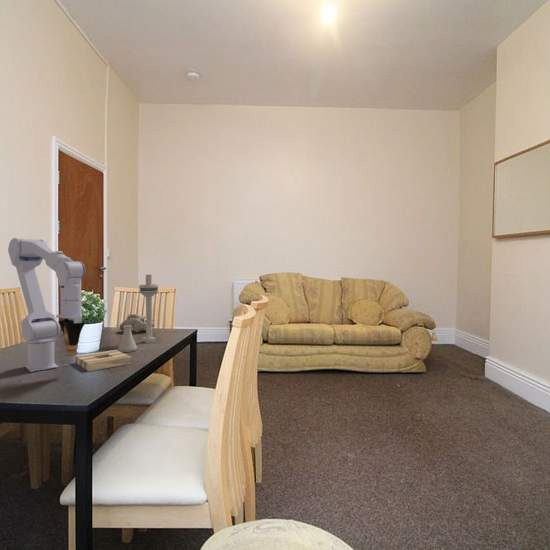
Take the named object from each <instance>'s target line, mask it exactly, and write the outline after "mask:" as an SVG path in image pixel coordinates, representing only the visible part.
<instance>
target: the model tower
mask: <svg viewBox="0 0 550 550" xmlns="http://www.w3.org/2000/svg"><path fill="white" fill-rule="evenodd" d="M152 276H153V275H152V274H146V275H145V284H139V285H138V288H139V290H138V292H139V294H141V295H142V296H144V298H145V316H146V318H145V320H146V331H145V332H146V333H145V336H146V337H142V342H143V343H146V344H150V343H154V342H155V343H156V341H157V340H156V338H157V337H153V327H152V321H153V297H154V296H155V295H156V294H157V293H159V291H160V290H159V288H160V287H159V284H154V283H152V282H153V280H152V279H153V278H152Z"/></svg>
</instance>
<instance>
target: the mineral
mask: <svg viewBox="0 0 550 550" xmlns="http://www.w3.org/2000/svg"><path fill="white" fill-rule="evenodd" d="M126 325H131V326H132V327H131V330H132V329H133V332H135V333H136V332H137V333H140V332H146V315H142V314H139V313H131V314H130V313H129V314H128V315H127V318H126V319H125V320H124V321H123V322H121V323H120V325H118V327H119V330H120V331H123V332H124V328H123V326H126ZM155 326H156V325H155V321H154V320H152V328H155Z"/></svg>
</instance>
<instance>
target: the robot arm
mask: <svg viewBox="0 0 550 550" xmlns="http://www.w3.org/2000/svg"><path fill="white" fill-rule="evenodd" d="M7 252H8V255H9V259H10V262H11V265H12V266H14V267H15V268H16V272H17V276H18V280H19V283H20V287H21V291H22V295H23V299H24V303H25V307H26V311H27V313H28V314H27V315H26V316H25V317H24V318H23V319H22V320H21V322H20V325H21V337H22V339H23V340H24V341H25V342H26V343H28V347H27V361H28V362H27V364H25V365H24V367H25V368H26V369H27V370H28V371H29V372H30V373H31V372H33V373H34V372H38V371H45V370H51V369H56V368H59V365H58V364H56V363H55V341H56V340H57V338H58V336H60V333H61V330H62V334H63V335H64V326H65V328H66V331H67V334H68V340H69V344H70V345H78V346H79V342H80V337H81V336H80V335H81V333H82V330H83V327H84V326H85V324H86V322H85V321H83V312H82V311H83V309H82V280H83V279H84V277H85V276H86V267H85V266H86V265H85V264H84V263H83V261H81V260H76V261H75V260H73V259H72V258H71V257H68V256H66V254H64V252H63V251H61V250H56V251H54V250H52V249H51V247H49V246H48V242H47V241H45V240H44V239H34V238H33V239H31V238H29V239H28V238H17V237H13V238H12V239H10V241H9V243H8V249H7ZM43 260H44V261H45V265H46V266H47V267H49V269H51V270H52V271H54V272H55V274H56V278H57V282H58V286H60V287H59V288H60V290H59V291H60V292H59V293H60V314H56V315H55V314H54V313H52V312H50V311H48V310H47V309H46V306H45V301H44V297H43V295H42V291H41V288H40V283H39V280H38V277H37V272H36V269H35V268H37V267H39V266H41V264H42V261H43ZM57 318H58V319H59V318H61V319H63V320H57ZM78 341H79V342H78Z"/></svg>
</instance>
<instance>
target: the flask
mask: <svg viewBox="0 0 550 550" xmlns="http://www.w3.org/2000/svg"><path fill="white" fill-rule="evenodd" d="M131 327H132V326H131V325H126V326H123V328H124V331H123V333H122V338H121V339H120V342H119V345H118V348H117V350H118V351H120V352H122V353H130V352H135V351H137V350H138V346H137V343H136V341H135V339H134V337H133V333H132V328H131Z"/></svg>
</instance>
